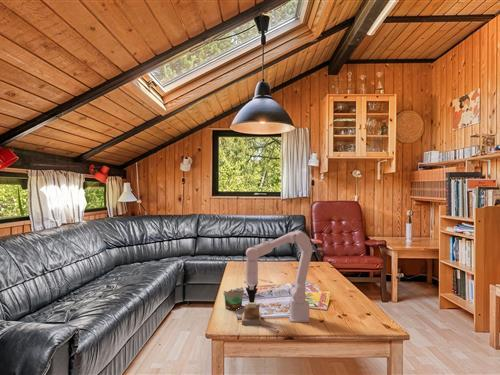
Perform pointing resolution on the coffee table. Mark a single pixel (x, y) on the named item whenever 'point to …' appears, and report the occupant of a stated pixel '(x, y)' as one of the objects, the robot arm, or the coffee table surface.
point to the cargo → (252, 304)
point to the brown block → (251, 312)
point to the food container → (233, 299)
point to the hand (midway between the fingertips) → (252, 299)
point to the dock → (251, 320)
